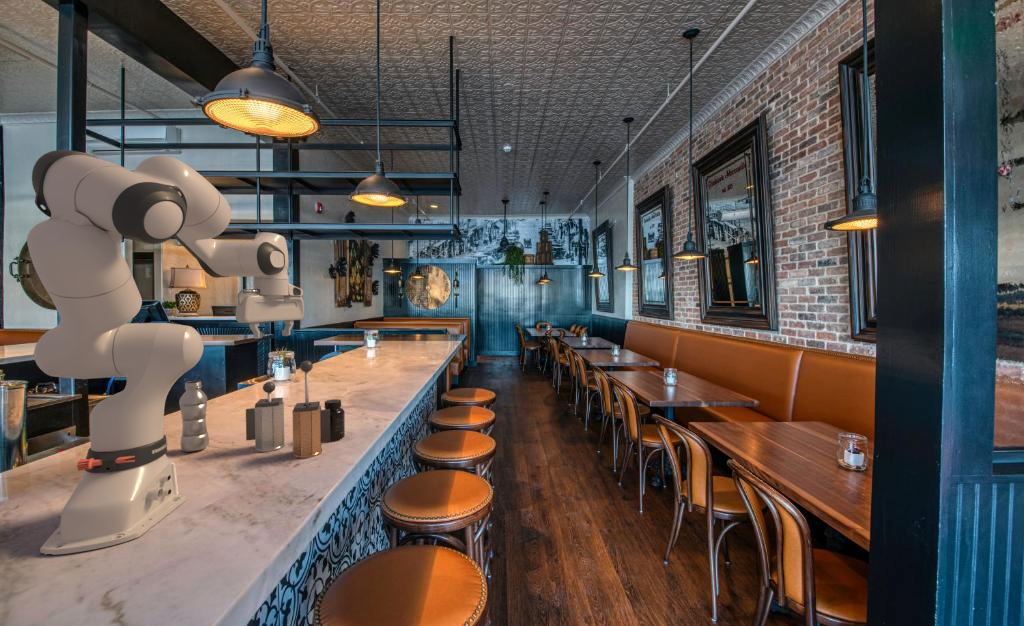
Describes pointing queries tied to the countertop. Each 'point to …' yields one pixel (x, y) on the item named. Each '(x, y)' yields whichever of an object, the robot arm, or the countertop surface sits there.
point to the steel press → (266, 424)
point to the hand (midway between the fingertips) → (272, 337)
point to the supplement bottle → (336, 419)
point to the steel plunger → (269, 389)
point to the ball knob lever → (306, 378)
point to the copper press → (310, 429)
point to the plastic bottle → (193, 418)
